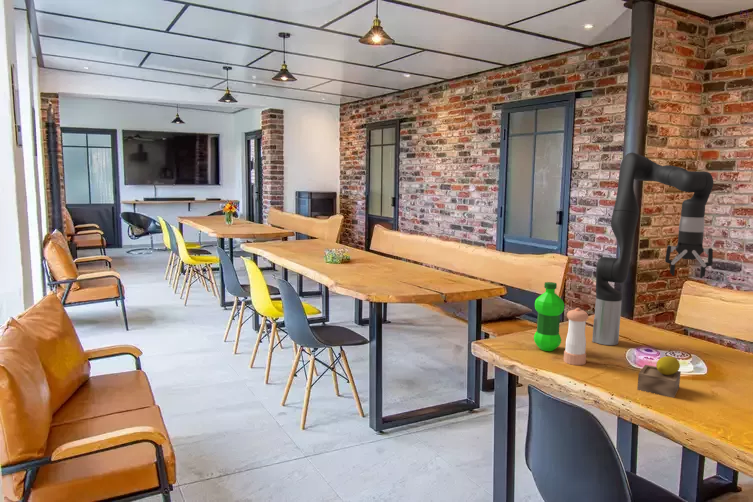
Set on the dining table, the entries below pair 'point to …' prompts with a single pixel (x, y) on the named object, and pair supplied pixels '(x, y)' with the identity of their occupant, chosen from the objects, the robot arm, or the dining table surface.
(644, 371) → the walnut box
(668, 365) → the lemon
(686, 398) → the dining table surface
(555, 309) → the plastic bottle
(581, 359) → the salt shaker
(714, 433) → the dining table surface
